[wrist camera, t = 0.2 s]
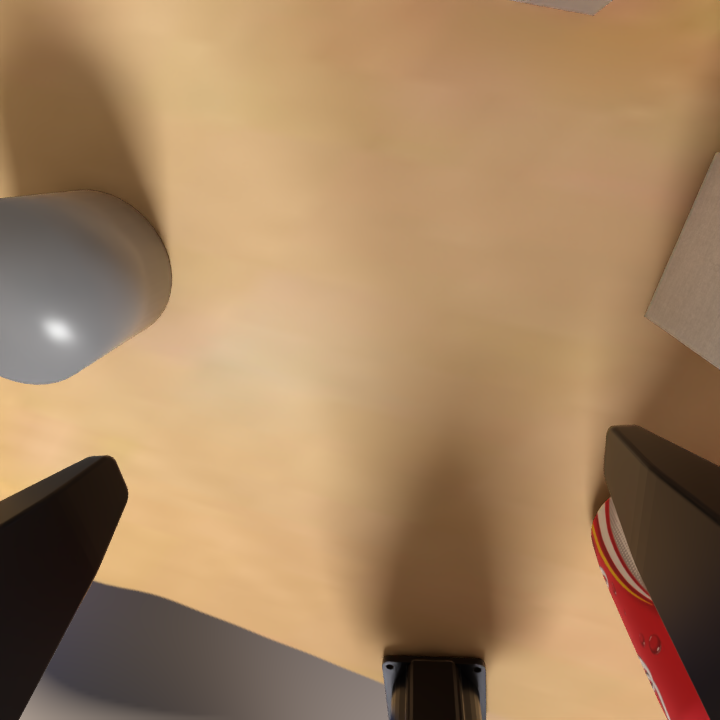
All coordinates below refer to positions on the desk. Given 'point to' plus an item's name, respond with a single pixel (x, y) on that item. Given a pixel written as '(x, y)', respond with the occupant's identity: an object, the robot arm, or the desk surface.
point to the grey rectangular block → (694, 276)
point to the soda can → (643, 620)
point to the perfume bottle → (571, 5)
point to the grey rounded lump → (74, 281)
